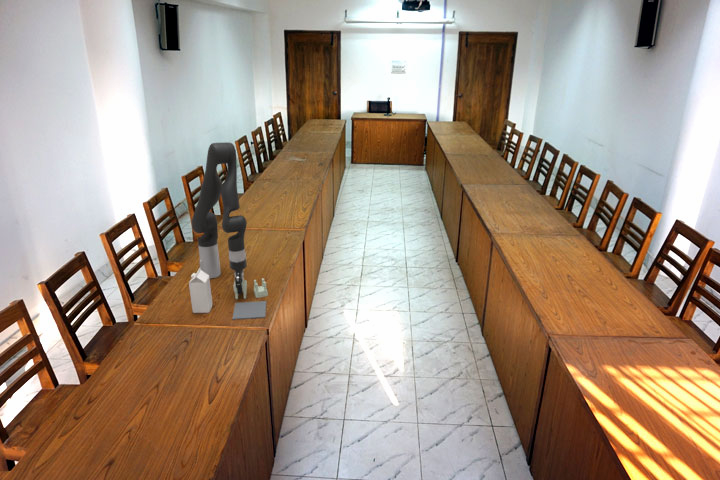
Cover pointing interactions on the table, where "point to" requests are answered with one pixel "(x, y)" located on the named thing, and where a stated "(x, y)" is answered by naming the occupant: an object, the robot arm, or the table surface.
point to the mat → (249, 310)
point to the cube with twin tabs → (244, 287)
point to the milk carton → (200, 292)
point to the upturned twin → (260, 289)
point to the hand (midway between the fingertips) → (240, 290)
